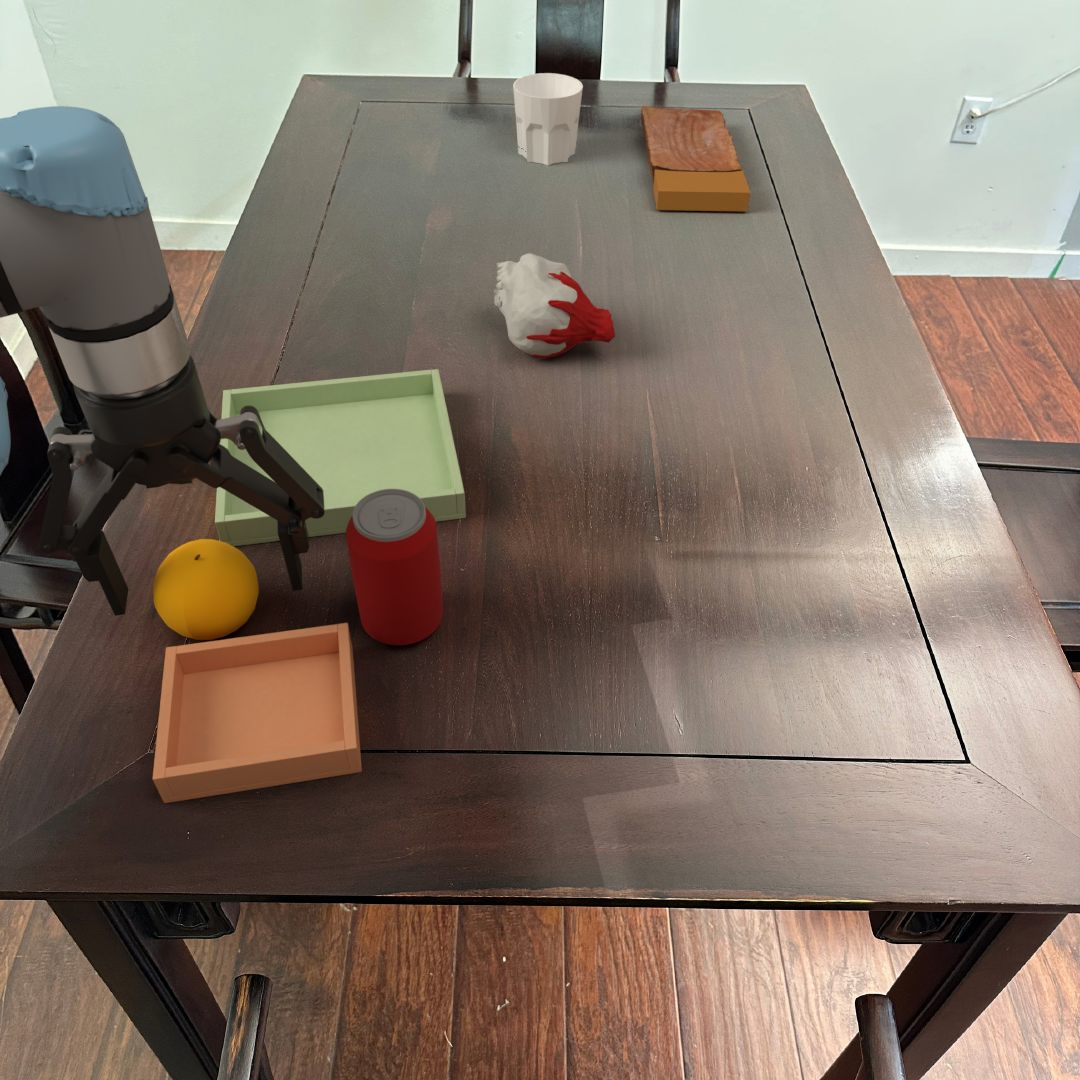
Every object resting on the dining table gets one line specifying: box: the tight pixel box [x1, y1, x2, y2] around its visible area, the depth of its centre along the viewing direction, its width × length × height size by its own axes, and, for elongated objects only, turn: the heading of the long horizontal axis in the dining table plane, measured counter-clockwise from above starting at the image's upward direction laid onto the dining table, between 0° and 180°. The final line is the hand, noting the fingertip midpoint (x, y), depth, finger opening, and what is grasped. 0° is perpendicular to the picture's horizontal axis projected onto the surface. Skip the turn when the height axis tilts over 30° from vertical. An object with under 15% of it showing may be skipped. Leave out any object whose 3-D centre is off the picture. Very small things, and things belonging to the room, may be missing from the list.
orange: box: [152, 538, 260, 641], centre depth 76 cm, size 8×8×8 cm
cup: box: [512, 72, 584, 167], centre depth 142 cm, size 10×10×10 cm
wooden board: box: [640, 106, 751, 212], centre depth 142 cm, size 13×30×3 cm, turn 0°
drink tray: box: [152, 622, 363, 804], centre depth 71 cm, size 14×12×3 cm
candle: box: [493, 252, 616, 359], centre depth 106 cm, size 9×11×15 cm
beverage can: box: [345, 489, 444, 646], centre depth 75 cm, size 7×7×12 cm
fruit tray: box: [214, 368, 467, 547], centre depth 92 cm, size 22×20×3 cm
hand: (210, 590), depth 77 cm, fingers open, 13 cm apart
